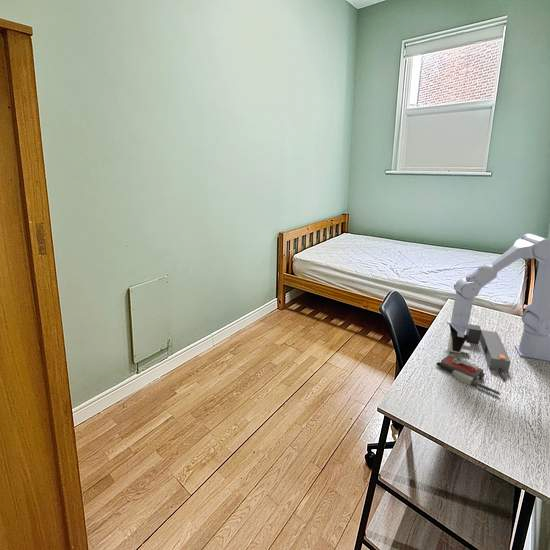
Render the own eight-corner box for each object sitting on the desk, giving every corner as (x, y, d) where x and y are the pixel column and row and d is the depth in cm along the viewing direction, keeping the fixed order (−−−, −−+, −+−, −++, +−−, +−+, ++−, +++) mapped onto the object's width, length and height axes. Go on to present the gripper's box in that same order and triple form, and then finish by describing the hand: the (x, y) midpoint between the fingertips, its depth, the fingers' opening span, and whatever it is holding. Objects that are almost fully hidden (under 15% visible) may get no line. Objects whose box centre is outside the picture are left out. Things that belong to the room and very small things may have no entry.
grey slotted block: (495, 341, 138) (498, 327, 136) (512, 382, 113) (516, 365, 111) (465, 336, 141) (467, 323, 139) (475, 375, 116) (478, 358, 114)
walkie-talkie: (432, 369, 120) (497, 399, 105) (434, 357, 118) (500, 386, 104) (444, 360, 125) (508, 387, 111) (446, 349, 124) (511, 375, 109)
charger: (467, 349, 132) (470, 335, 130) (469, 355, 128) (472, 340, 126) (447, 345, 134) (450, 331, 132) (448, 351, 130) (451, 337, 128)
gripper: (447, 302, 134) (441, 335, 138) (450, 318, 121) (444, 353, 126) (468, 305, 132) (461, 338, 136) (474, 321, 119) (466, 357, 123)
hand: (454, 345), depth 131 cm, fingers open, 7 cm apart
